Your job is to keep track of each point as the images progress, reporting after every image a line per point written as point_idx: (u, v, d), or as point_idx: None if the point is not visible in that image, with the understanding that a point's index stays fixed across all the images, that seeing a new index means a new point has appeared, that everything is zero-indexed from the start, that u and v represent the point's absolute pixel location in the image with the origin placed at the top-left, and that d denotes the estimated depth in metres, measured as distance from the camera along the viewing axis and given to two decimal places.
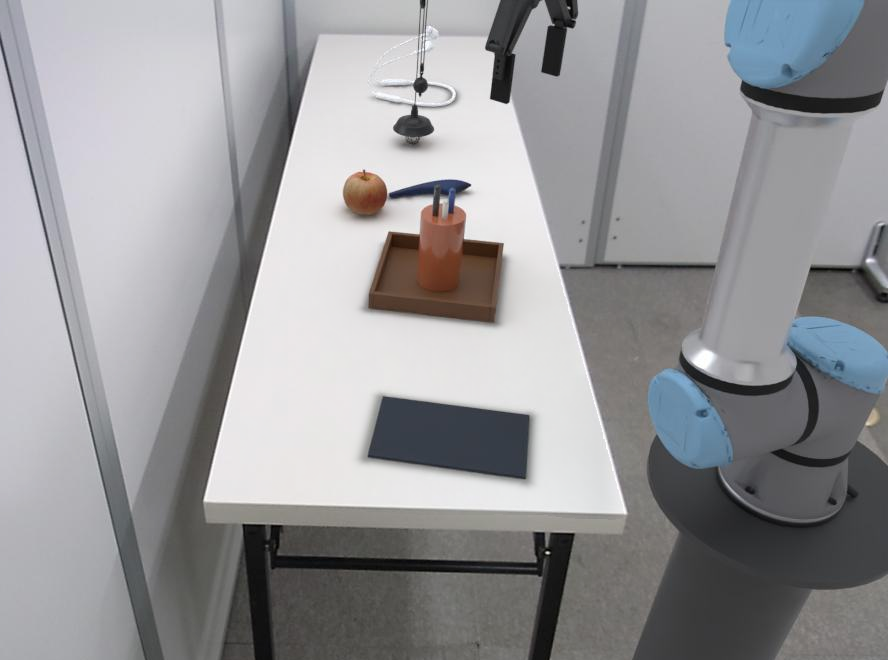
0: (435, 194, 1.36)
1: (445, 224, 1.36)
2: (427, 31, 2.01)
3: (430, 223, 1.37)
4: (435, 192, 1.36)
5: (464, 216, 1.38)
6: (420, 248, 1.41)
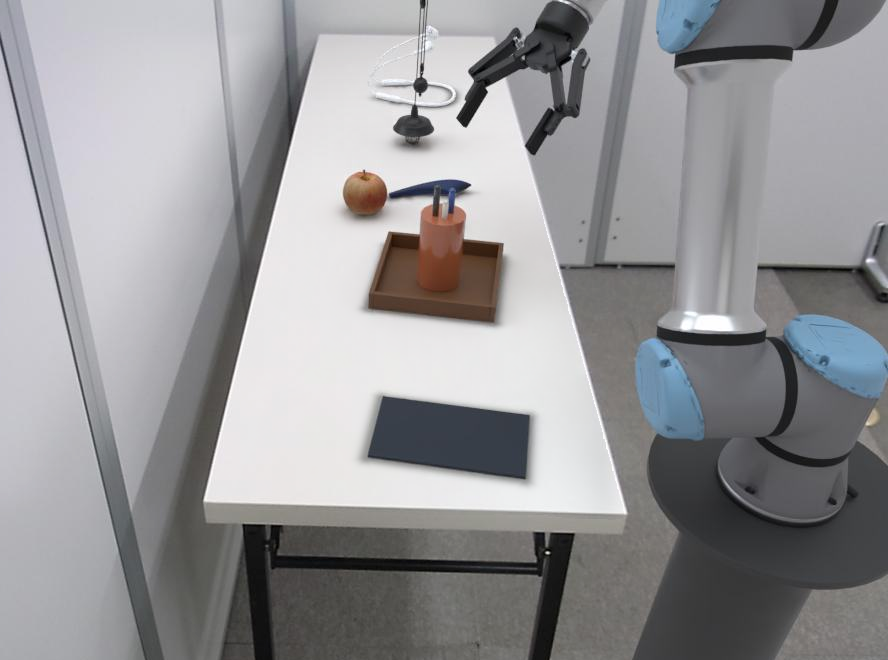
0: (435, 194, 1.36)
1: (445, 224, 1.36)
2: (427, 31, 2.01)
3: (430, 223, 1.37)
4: (435, 192, 1.36)
5: (464, 216, 1.38)
6: (420, 248, 1.41)
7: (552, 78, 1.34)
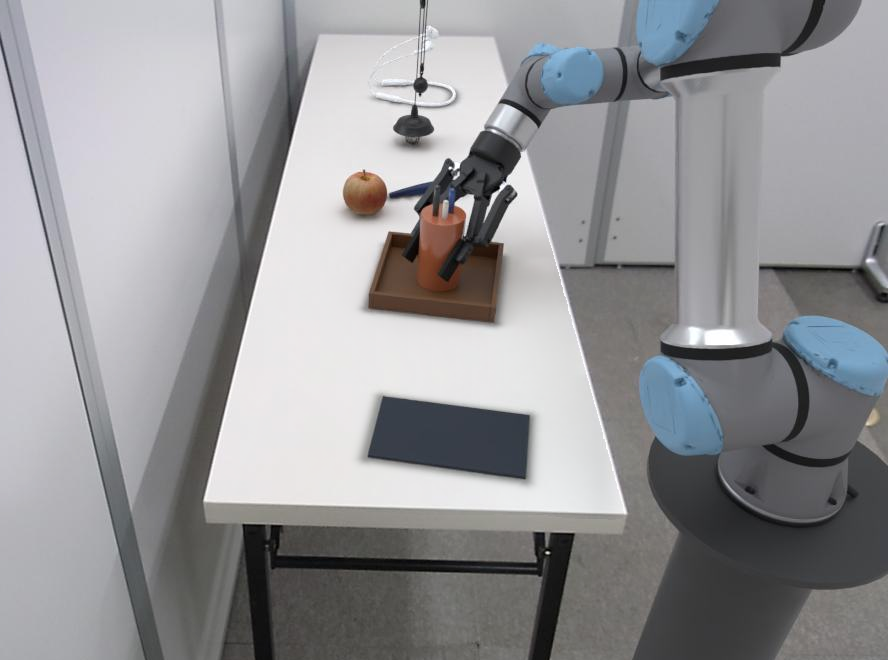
0: (435, 194, 1.36)
1: (445, 224, 1.36)
2: (427, 31, 2.01)
3: (430, 223, 1.37)
4: (435, 192, 1.36)
5: (464, 216, 1.38)
6: (420, 248, 1.41)
7: (474, 207, 1.39)
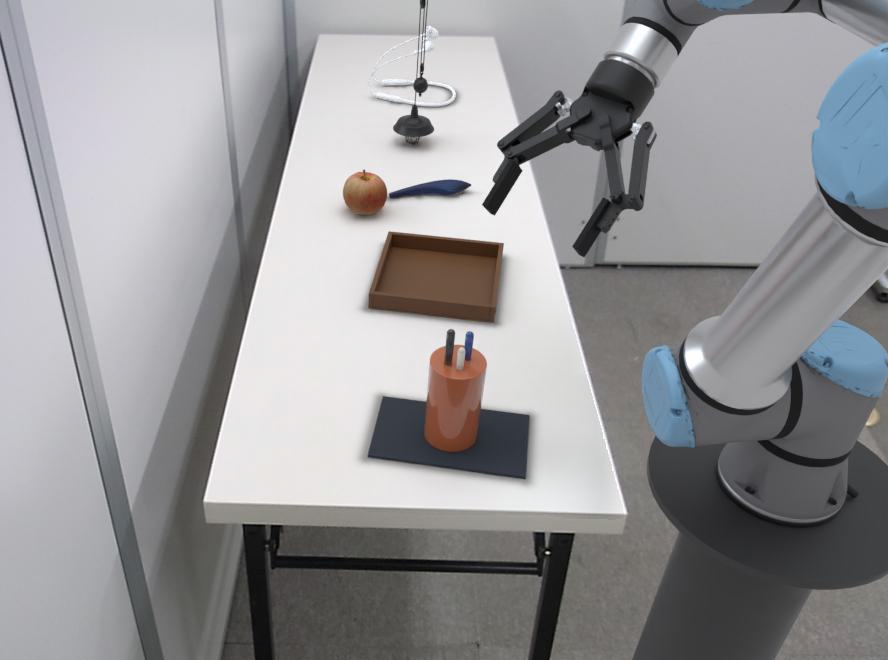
0: (448, 340, 1.07)
1: (461, 378, 1.08)
2: (427, 31, 2.01)
3: (442, 376, 1.08)
4: (448, 338, 1.07)
5: (484, 365, 1.10)
6: (429, 401, 1.13)
7: (608, 159, 1.04)
